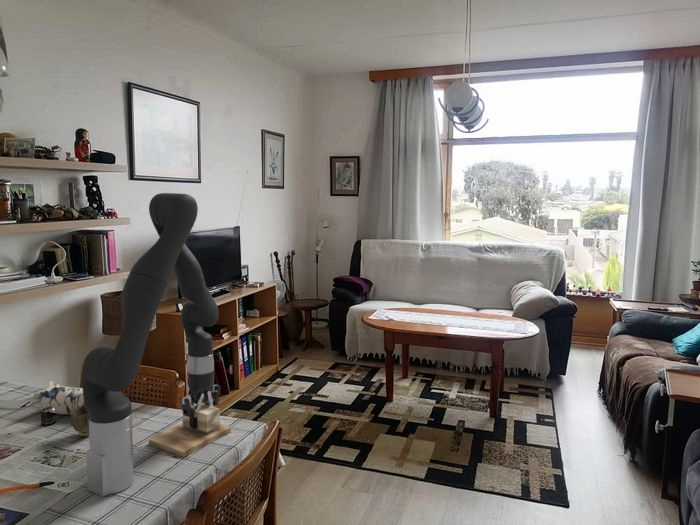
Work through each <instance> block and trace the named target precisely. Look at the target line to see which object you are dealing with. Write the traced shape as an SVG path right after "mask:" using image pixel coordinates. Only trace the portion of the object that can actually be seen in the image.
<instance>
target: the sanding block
mask: <svg viewBox="0 0 700 525" xmlns="http://www.w3.org/2000/svg"><path fill="white" fill-rule="evenodd" d="M194 405H197V404H195V403H194ZM220 411H221V408H219V407H217V406H214V407H212V406H209V405H204V403H202V404H201V407H200V409H199V410H198V414H197V424H198V428H197V429H193V428H191V427H190V419H189V417H188V416H184V415H183V414H182V424H183V427H186V428H189V429H192V430H195V431H198V432H201V433H204V434H207V435H208V434H210V433H212V432H213V431H215V430H217V429H219V428H220V424H221V413H220ZM193 412H194V409H193Z"/></svg>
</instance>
